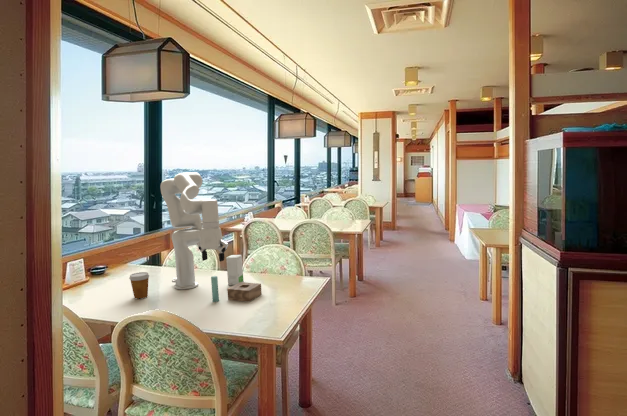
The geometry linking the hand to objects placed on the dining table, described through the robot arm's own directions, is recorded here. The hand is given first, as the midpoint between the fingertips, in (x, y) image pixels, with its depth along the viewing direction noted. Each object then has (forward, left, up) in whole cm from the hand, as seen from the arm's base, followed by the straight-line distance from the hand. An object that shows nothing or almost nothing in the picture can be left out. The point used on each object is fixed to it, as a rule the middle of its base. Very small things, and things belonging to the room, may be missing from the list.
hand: (213, 260), depth 201 cm
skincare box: (-7, +29, -20) cm, 36 cm away
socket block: (+11, +9, -20) cm, 25 cm away
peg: (0, 0, -20) cm, 20 cm away
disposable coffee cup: (-42, -5, -20) cm, 47 cm away
